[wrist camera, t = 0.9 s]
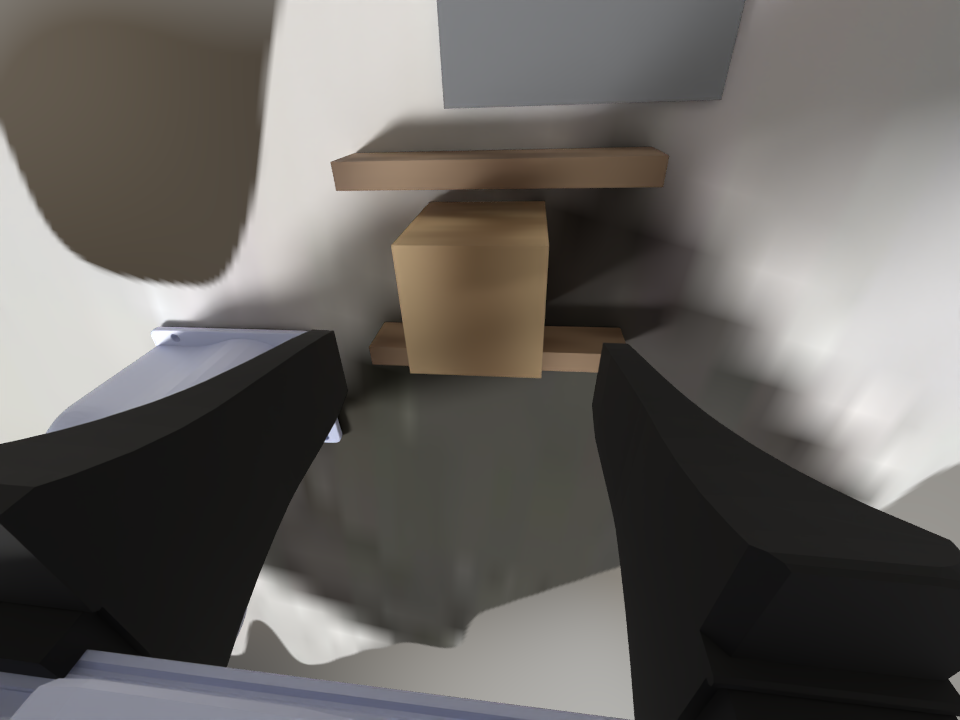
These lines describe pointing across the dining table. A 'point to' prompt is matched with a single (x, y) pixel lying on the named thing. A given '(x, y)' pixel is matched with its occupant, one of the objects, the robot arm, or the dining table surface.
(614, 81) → the rubber mat
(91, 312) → the dining table surface
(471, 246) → the oak block
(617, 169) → the walnut rack
